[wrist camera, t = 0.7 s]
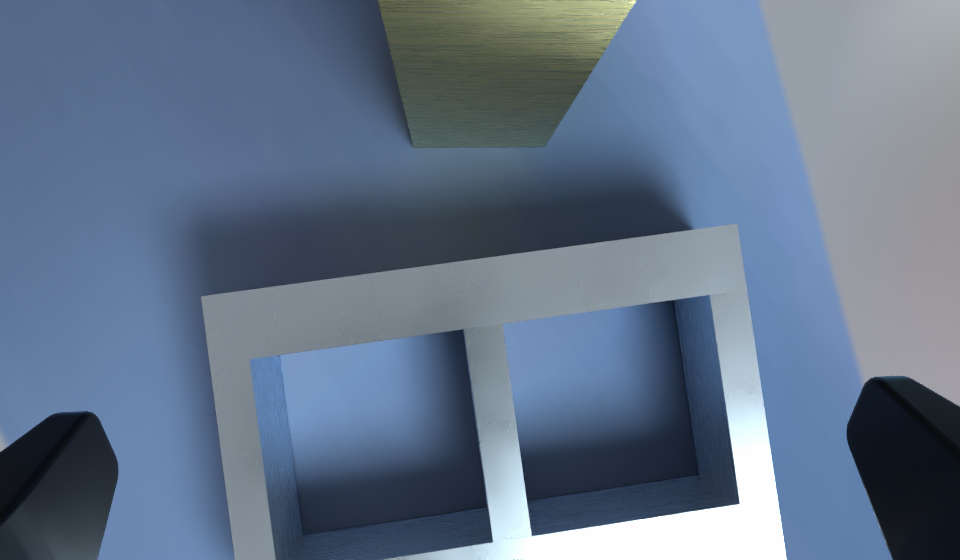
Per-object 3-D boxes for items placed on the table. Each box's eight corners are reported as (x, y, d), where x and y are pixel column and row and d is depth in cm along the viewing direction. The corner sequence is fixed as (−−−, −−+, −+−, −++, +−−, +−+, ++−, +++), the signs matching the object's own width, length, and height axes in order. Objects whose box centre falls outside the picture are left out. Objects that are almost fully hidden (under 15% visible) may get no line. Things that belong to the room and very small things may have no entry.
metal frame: (739, 527, 21) (787, 565, 18) (276, 599, 20) (246, 651, 17) (696, 234, 21) (737, 223, 18) (237, 296, 21) (201, 296, 18)
